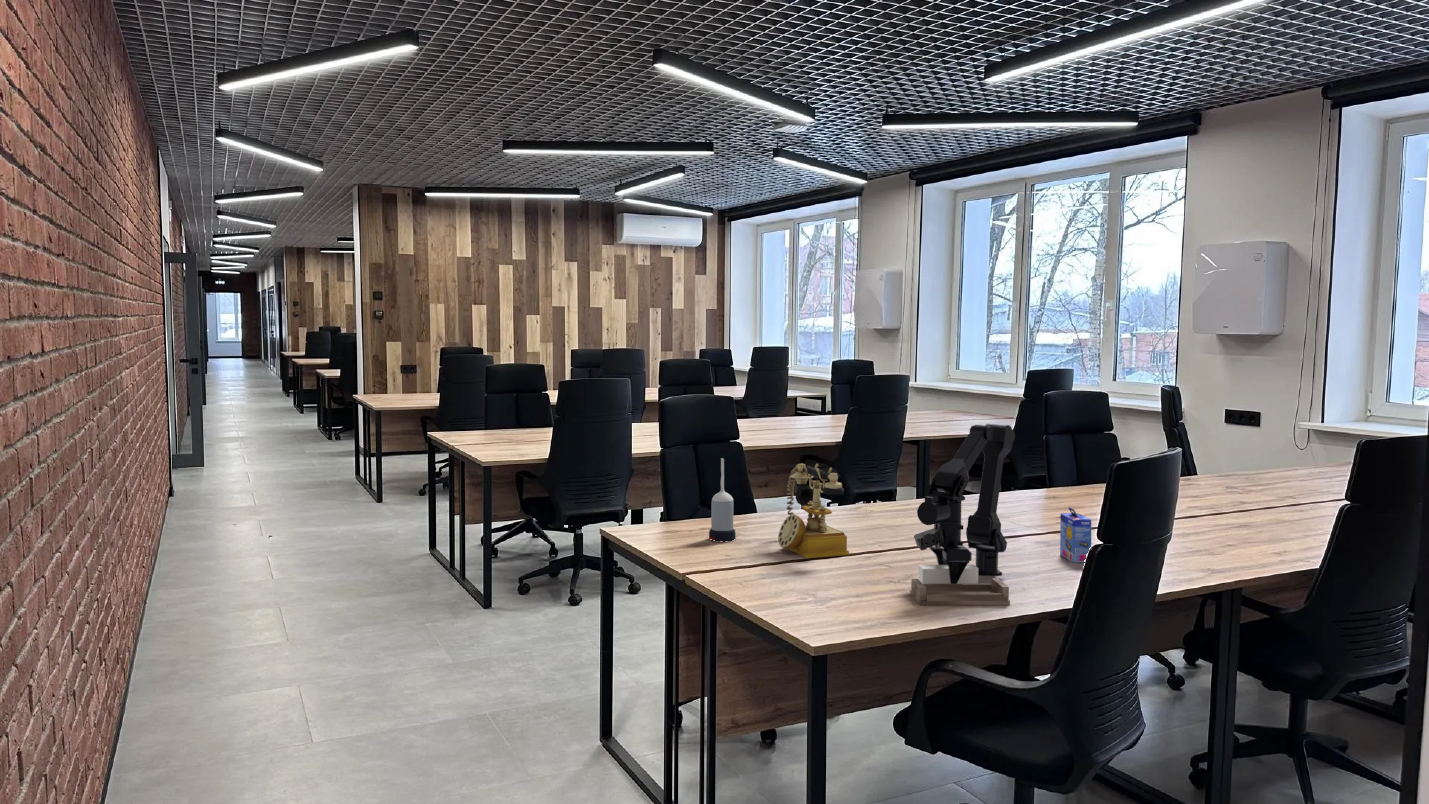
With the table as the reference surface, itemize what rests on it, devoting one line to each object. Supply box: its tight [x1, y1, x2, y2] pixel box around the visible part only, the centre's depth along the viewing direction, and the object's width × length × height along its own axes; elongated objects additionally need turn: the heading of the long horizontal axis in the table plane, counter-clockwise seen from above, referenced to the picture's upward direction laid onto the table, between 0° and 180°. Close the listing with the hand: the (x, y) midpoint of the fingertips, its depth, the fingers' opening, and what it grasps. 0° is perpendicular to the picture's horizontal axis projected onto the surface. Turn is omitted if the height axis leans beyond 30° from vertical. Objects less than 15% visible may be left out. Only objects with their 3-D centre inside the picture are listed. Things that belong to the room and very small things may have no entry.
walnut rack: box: [909, 577, 1011, 606], centre depth 230 cm, size 10×21×4 cm, turn 92°
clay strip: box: [917, 564, 979, 584], centre depth 243 cm, size 4×14×5 cm, turn 93°
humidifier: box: [708, 457, 737, 543], centre depth 296 cm, size 8×8×25 cm
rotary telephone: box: [777, 462, 850, 559], centre depth 284 cm, size 35×18×25 cm, turn 20°
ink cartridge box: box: [1059, 506, 1092, 564], centre depth 272 cm, size 10×6×14 cm, turn 2°
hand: (948, 581), depth 243 cm, fingers open, 9 cm apart
